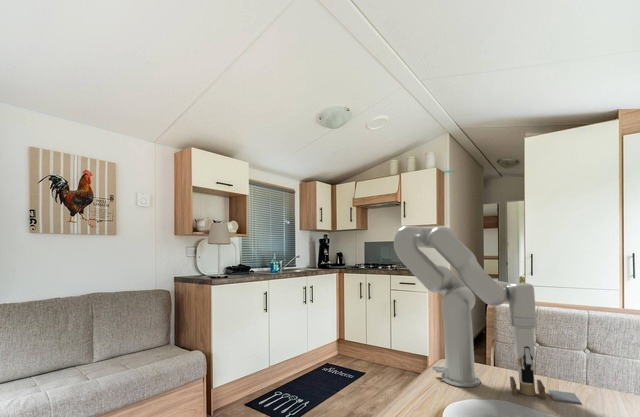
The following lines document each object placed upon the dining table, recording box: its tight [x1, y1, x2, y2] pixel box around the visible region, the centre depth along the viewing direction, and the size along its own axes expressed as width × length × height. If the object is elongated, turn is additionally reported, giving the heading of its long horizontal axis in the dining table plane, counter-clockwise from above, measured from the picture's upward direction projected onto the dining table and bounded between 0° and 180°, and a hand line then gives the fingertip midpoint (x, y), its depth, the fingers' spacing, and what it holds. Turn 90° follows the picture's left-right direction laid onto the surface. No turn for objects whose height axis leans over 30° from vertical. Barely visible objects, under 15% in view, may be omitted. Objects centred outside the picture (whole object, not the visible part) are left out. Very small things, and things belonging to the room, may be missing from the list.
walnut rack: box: [509, 376, 547, 401], centre depth 115 cm, size 9×7×4 cm
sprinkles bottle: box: [517, 351, 536, 396], centre depth 115 cm, size 5×5×13 cm
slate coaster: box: [547, 389, 582, 405], centre depth 111 cm, size 7×7×1 cm
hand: (526, 379), depth 115 cm, fingers closed on sprinkles bottle, 4 cm apart
